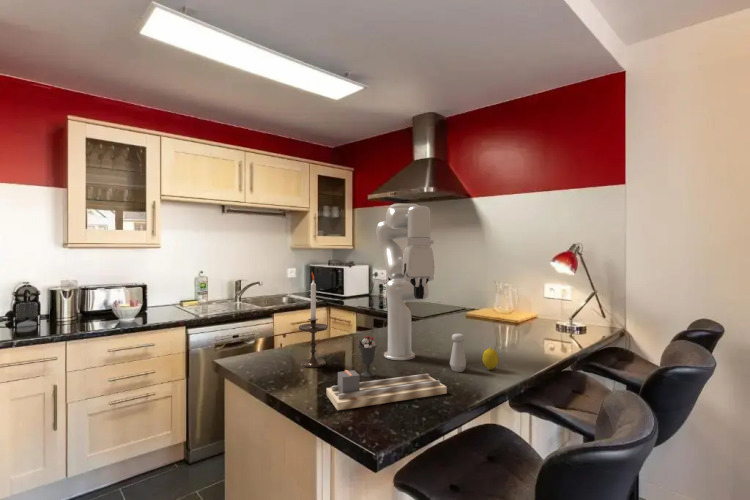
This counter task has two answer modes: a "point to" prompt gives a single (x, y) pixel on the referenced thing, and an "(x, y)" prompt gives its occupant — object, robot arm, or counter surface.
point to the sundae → (367, 354)
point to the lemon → (490, 358)
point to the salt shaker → (458, 354)
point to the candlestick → (313, 331)
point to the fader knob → (348, 381)
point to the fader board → (386, 391)
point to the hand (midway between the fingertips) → (418, 298)
